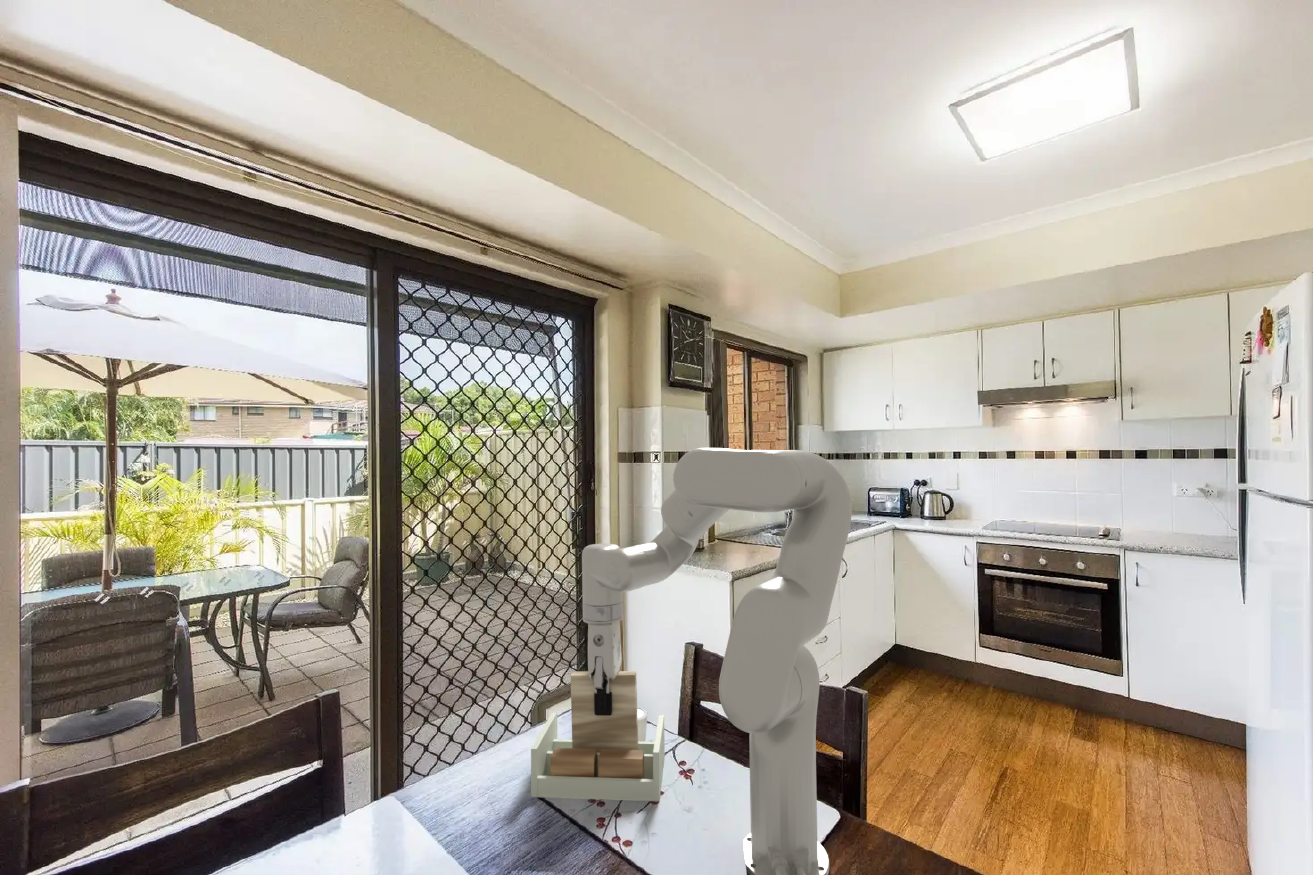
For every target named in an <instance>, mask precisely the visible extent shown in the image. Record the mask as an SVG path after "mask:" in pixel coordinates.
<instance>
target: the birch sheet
mask: <svg viewBox="0 0 1313 875" xmlns="http://www.w3.org/2000/svg"><path fill="white" fill-rule="evenodd" d="M603 675H606V674H603ZM603 682H606V681H603ZM637 685H638V684H637V671H636V670H629V671H628V670H626V671H625V670H624V671H622V670H621V671H620V670H619V671H618V674H617V676H616V678H615V679H613V680H612V679H611V678H610V692H612V714H611V715H610V716H601V715H595V714H594V678H593V679H590V678H589V674H588V670H586V671H579V670H577V671H572V672H571V674H570V701H571V702H570V705H571V708H570V709H571V713H570V714H571V740H572V748H579V749H597V753H600V752H601V749H614V750H638V717H637V707H638V688H637Z"/></svg>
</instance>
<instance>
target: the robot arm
mask: <svg viewBox="0 0 1313 875" xmlns="http://www.w3.org/2000/svg"><path fill="white" fill-rule="evenodd" d="M672 476H673V478H672V480H673V486H674V491H673V492H671V494H669V496H667V498H665V499H664V500H663V501H662V504H661V505H660V506H661V507H660V515H661V518H662V520H663V522H664V524H665V525H666V526H665V528H663V529H662V531H661V532H659V534H658V535H656V536H655V537H654V539H652V540H651V541H649V542H646V543H640V544H636V545H631V546H627V547H620V546H619V545H617V544H615V543H593V544H589V545H587V546H585V547H584V548H583V550H582V552H581V572H582V573H581V579H582V580H581V581H582V583H581V584H582V586H581V587H582V590H581V592H582V621H583V623H585V624H587V627H588V628H587V671H588V674H589V678H590V679H593V678H594V714H595V715H601V716H610V715H611V714H612V692H610V678H611V679H612V680H613V679H615V678H616V676H617V674H618V671H620V668H621V666H622V661H623V660H622V659H623V658H622V646H621V642H622V641H621V628H620V627H621V626H620V621H623V620H624V600H623V598H624V595H623V594H624V593H628V592H632V591H634V590H639V589H641V588H643V587H647V586H650V585H655V584H657V583H661V582H664V580H666V579H668V578H669V577H671V576H672V575H673V574H675V572H676V571H677V570H679V568H681V567H682V565H684V564H685V563H686V562H687V561H688V560H689V559H690V558H691V557H692V556H693V554H694V552H695V550H696V549H697V547H698V544H699V543H700V542H699V541H700V538H701V537H702V536H703V534H705V533H706V532H707V531H708V530H709V529H710V528H711V527H713V525H714V524H715V523H716V522H717V521H718V520H720V518H722V517H723V516H724V515H725V514H726V513H727V512H728V511H730V510H731V511H732V510H734V511H742V512H751V513H752V512H753V513H778V512H783V511H789V510H793V516H792V518H791V522H790V524H789V526H788V528H787V530H786V531H785V535H784V537H783V540H782V543H781V547H780V553H779V556H778V560H777V564H776V567H775V571H774V573H773V574H772V577H771V578H770V579H769V580H767V581H765V582H762V583H760V584H758V585H756V586H754V587H752V588H751V589H749V591H748V592H746V593H745V595H743V597H742V598H741V600H740V601H739V603H738V605H737V607H736V610H735V613H734V615H733V619H732V622H731V627H730V632H729V636H728V638H727V639H728V640H727V643H726V649H725V652H724V655H723V656H724V657H723V661H722V665H721V670H720V674H719V675H720V676H719V681H718V694H719V695H718V696H719V700H720V705H721V707H722V710H723V712H724V714H725V716H726V718H727V719H728V721H729V722H730V723H731V724H732V725H733V726H735V727H736V728H737V729H738V730H740V731H743V732H745V733H748V734H749V796H750V799H749V800H750V803H749V804H750V805H749V806H750V807H749V808H750V810H749V811H750V833H748V834H747V835H746V836H745V837H744V839H743V840H742V843H743V855H744V862H745V870H746V873H747V874H748V875H829V873H830V859H829V855H828V853H827V850H826V849H825V847H824V846H823V845H822V844H821V843H820V842H819V841H818V806H817V805H818V804H817V803H818V801H817V800H818V797H817V796H818V795H817V762H816V761H817V759H816V758H817V744H816V743H817V741H816V735H817V734H816V733H817V732H816V731H817V712H818V705H819V696H820V673H819V667H818V665H817V661H816V660H815V657H814V656H813V654H812V653H811V651H810V650H809V649H808V648H807V647H806V646H805V645H806V644H808V643H809V642H811V641H812V640H814V639H815V638H816V637H818V635H820V634H821V633H822V631H824V629H825V627H827V626H826V625H827V623H828V619H829V616H830V611H831V606H832V602H833V598H834V595H835V592H836V591H835V590H836V586H837V582H838V578H839V575H840V571H841V565H842V561H843V556H844V554H845V549H846V546H847V541H848V537H849V533H850V529H851V525H852V524H851V522H852V516H853V515H852V514H853V513H852V511H853V508H852V497H851V492H850V489H849V487H848V485H847V483H846V480H845V479H844V477H843V476H842V474H841V472H840V471H839V470H838V469H837V468H836V467H835V466H834V465H833V464H832V463H831V462H830V461H828V460H827V459H826V458H824V457H823V456H820V455H819V454H816V453H813V452H811V451H806V450H801V449H800V450H799V449H787V450H783V449H782V450H781V449H779V450H777V449H770V450H769V449H767V450H766V449H764V450H763V449H762V450H761V449H751V450H750V449H747V450H746V449H733V448H726V447H724V448H723V447H698V448H694V449H691V450H689V451H688V452H686V453H685V454H683V455H682V456H681V458H680V459H679V460H678V462H676V465H675V468H674V470H673V475H672ZM603 674H606V675H603ZM603 681H606V682H603Z"/></svg>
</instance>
